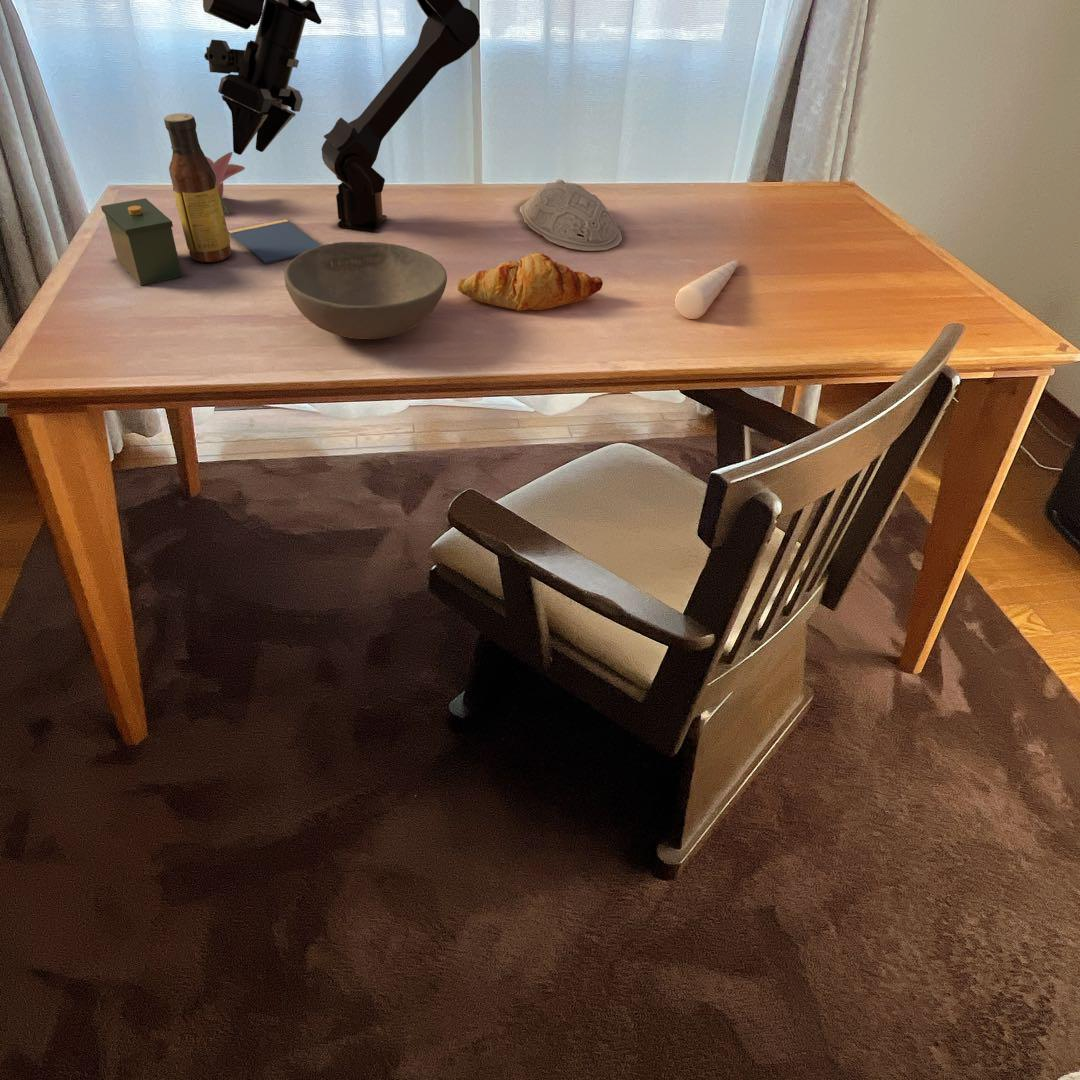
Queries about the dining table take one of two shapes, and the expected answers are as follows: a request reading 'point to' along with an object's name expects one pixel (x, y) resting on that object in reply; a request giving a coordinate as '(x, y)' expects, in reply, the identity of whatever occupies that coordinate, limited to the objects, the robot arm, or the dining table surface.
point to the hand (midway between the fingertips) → (248, 152)
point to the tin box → (143, 240)
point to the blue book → (274, 240)
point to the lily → (224, 171)
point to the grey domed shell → (578, 204)
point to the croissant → (530, 284)
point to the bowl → (365, 288)
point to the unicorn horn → (703, 291)
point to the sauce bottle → (196, 192)
